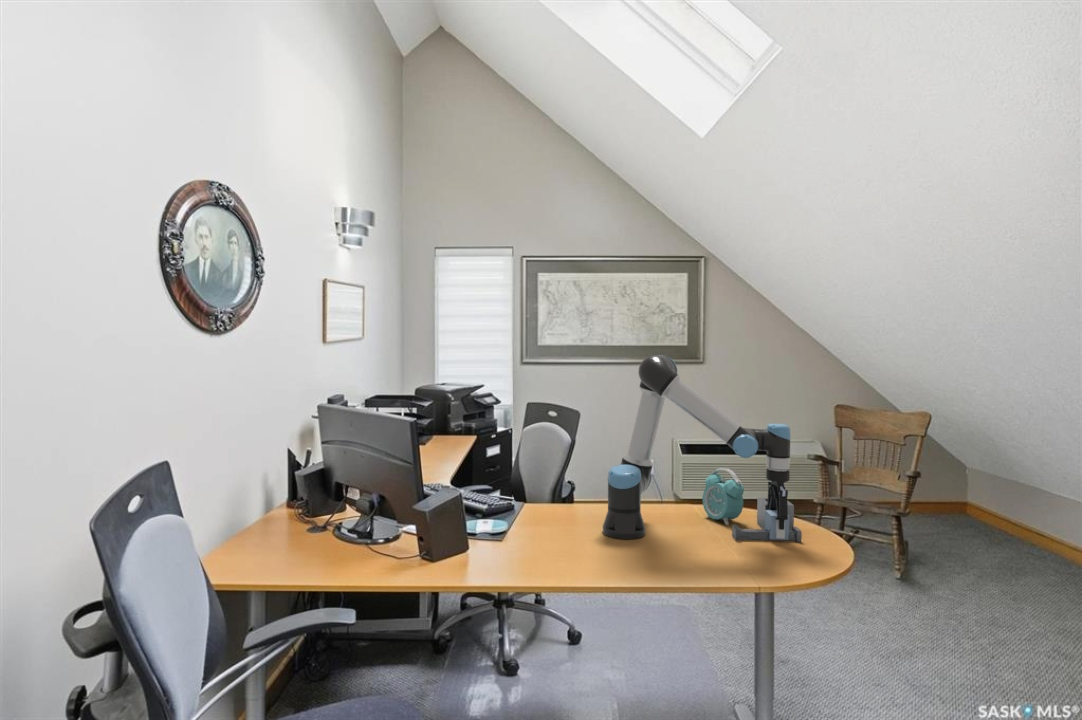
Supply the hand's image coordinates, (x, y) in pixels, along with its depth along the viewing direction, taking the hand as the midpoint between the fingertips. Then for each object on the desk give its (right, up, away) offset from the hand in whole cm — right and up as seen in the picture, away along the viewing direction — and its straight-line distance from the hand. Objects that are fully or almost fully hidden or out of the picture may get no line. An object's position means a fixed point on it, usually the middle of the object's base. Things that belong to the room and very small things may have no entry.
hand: (776, 534), depth 207 cm
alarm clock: (-12, -1, +23) cm, 26 cm away
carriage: (0, -2, 0) cm, 2 cm away
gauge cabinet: (+4, -1, +13) cm, 14 cm away
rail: (-3, -2, 0) cm, 4 cm away
